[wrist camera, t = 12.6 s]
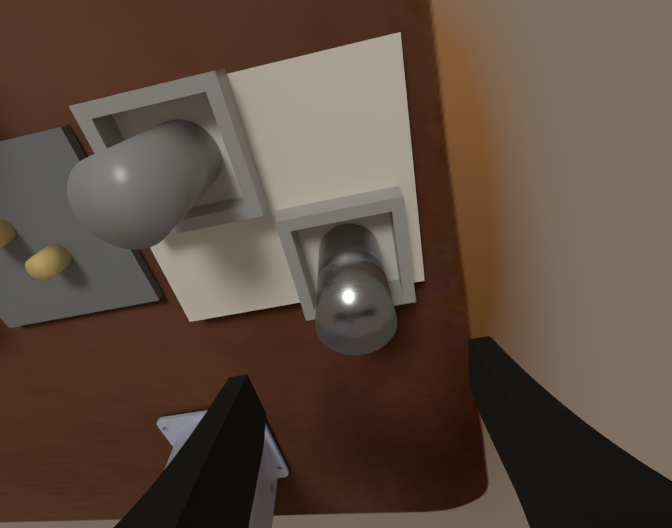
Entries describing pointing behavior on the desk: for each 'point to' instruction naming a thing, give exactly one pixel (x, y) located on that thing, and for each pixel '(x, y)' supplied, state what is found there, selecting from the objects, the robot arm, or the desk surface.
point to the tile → (56, 240)
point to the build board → (256, 175)
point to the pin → (353, 292)
